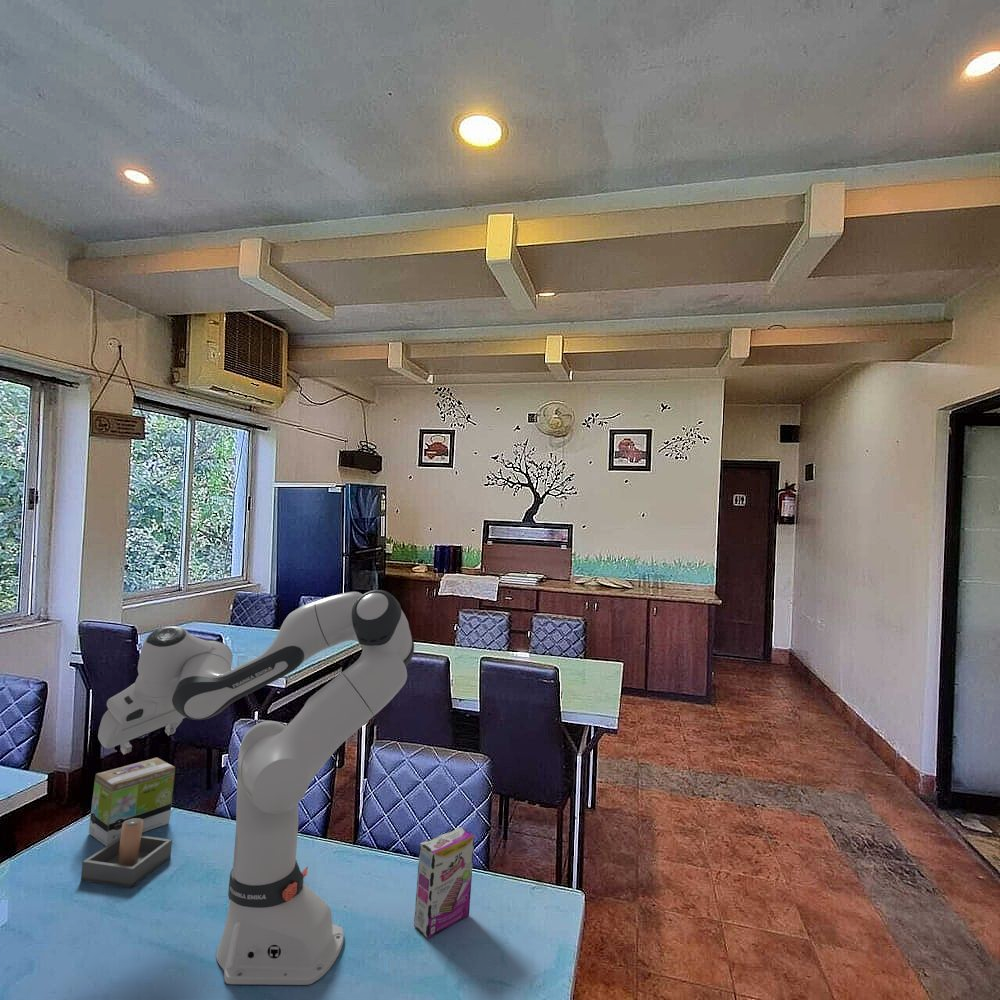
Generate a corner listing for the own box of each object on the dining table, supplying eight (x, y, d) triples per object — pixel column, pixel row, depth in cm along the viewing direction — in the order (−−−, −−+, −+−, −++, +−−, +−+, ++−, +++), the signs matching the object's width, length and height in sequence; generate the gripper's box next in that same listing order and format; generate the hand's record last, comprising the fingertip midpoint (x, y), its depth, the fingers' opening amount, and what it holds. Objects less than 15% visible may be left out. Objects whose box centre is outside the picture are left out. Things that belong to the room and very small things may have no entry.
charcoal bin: (170, 857, 134) (172, 839, 134) (131, 888, 122) (132, 869, 122) (124, 850, 136) (125, 833, 136) (80, 880, 124) (82, 861, 124)
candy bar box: (428, 940, 111) (433, 853, 112) (413, 927, 115) (418, 842, 116) (471, 916, 119) (475, 834, 120) (455, 904, 123) (460, 825, 124)
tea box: (106, 848, 136) (112, 784, 137) (87, 834, 142) (93, 773, 143) (171, 823, 149) (176, 765, 150) (151, 811, 154) (156, 755, 155)
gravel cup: (141, 860, 131) (147, 819, 132) (129, 870, 127) (134, 827, 128) (125, 858, 131) (131, 817, 132) (112, 867, 127) (118, 825, 128)
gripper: (196, 669, 135) (187, 714, 140) (98, 702, 118) (91, 753, 123) (210, 685, 132) (201, 730, 137) (112, 721, 115) (104, 772, 120)
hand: (148, 741), depth 130 cm, fingers open, 8 cm apart
